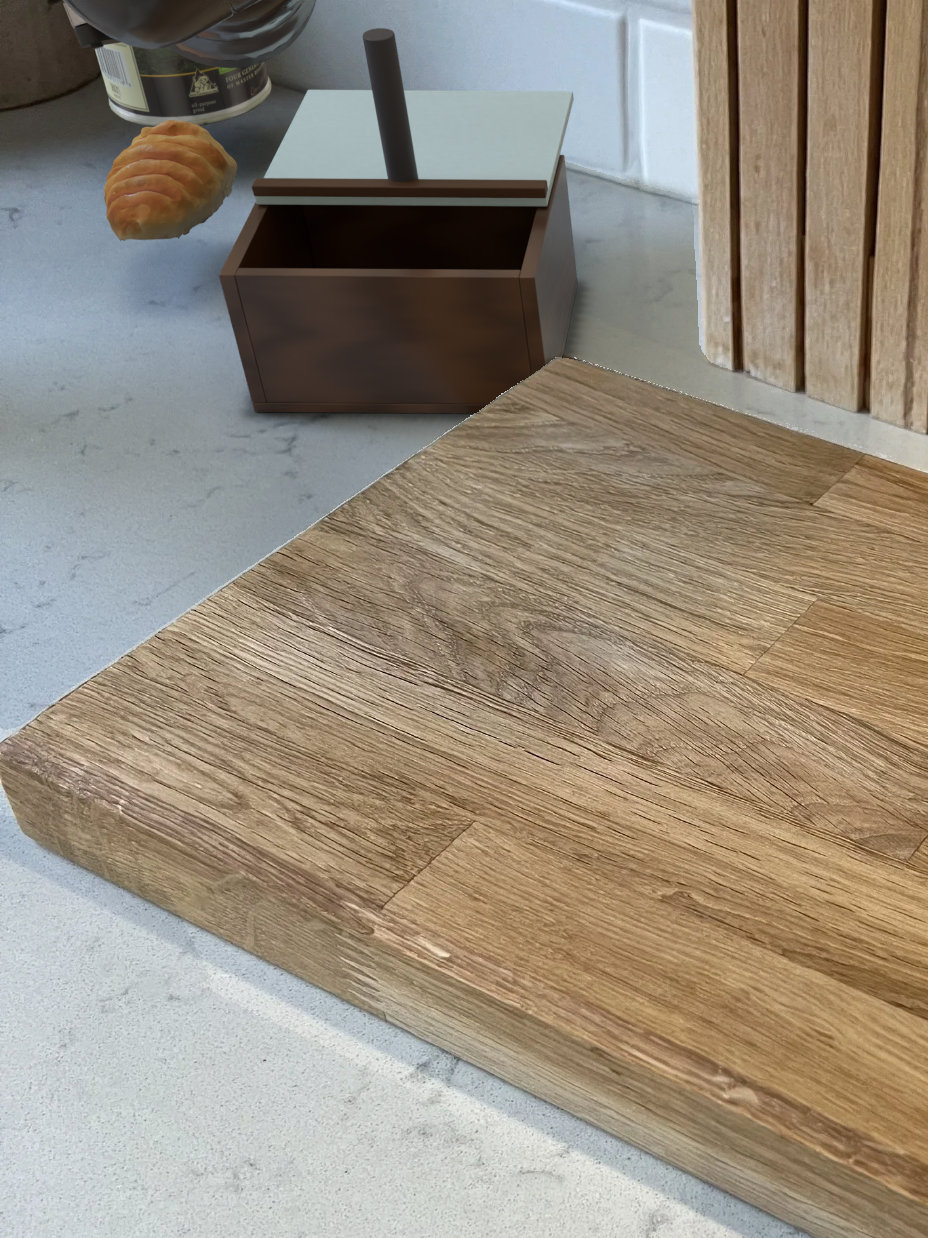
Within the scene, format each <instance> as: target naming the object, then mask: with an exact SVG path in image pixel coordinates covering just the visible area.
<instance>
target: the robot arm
mask: <svg viewBox="0 0 928 1238" xmlns="http://www.w3.org/2000/svg"><path fill="white" fill-rule="evenodd" d="M316 3H317V0H62V4H63V7H64V10H65V12H66V15H67V17H68V19H69V23H70V26H71V27H72V29H73V30H74V33H75V36H76V38H77V40H78V43H79V46H80V48H81V49H87V48H91V50H95V49H97V48H101V47H103V46H104V45H107V44H114V43H121V42H122V43H125V44H127V45H129V46H134V47H139V48H144V49H162V48H167V47H168V48H169V49H171V50H172V51H174V52H176V53H177V54H179V55H181V56H183V57H185V58H187V59H190V60H192V61H195V62H197V63H201V64H204V65H208V66H213V67H221V68H241V67H248V66H252V65H256V64H259V63H262V62H265V63H266V62H267V61H269V60H271V59H273V58H275V57H277V56H278V55H280V54H281V53H283V52H284V51H286V50H287V49H288V48H289V47H291V45H292V44H293V43H295V41H296V40H297V39H298V38H299V36H300V35H301V34H302V33H303V32H304V30H305V29H306V27H307V25H308V23H309V22H310V19H311V17H312V15H313V13H314V9H315V7H316Z"/></svg>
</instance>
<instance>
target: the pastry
mask: <svg viewBox="0 0 928 1238" xmlns="http://www.w3.org/2000/svg"><path fill="white" fill-rule="evenodd" d="M237 172H238V163H237V162H236V160H235V159H234V157H232V156H231V155H229V153H228V152H227V151H226V150H225V148H224V147H223V145H222V144H221V143H219V142H218V141H217V140H216V139H214V137H212V134H211V133H210V132H209V131H208V130H207V128H204V127H203V126H202V125H200V126H199V125H196V124H192V123H189V122H187V121H175V120H168V121H165V122H162V123H160V124H159V125H157V126H155V127H152V126H145V127H142V128H141V130H140V133H139V134H138V135H137V136H135V137H133V139H132V141H131V144H130V146H128V147H127V148H125V149H123V150H122V151H121V152H120V153H119V155H118V156H116V158H115V159H114V160H113V162H112V166H111V169H110V171H109V172H108V173H107V176H106V180H105V181H106V182H105V185H104V187H103V193H104V196H103V197H104V202H105V207H106V214H105V215H106V220H107V221H108V223H109V227H110V229H111V231H112V232H113V233H114V235H115V236H116V238H117V239H118V240H119V241H120V242H121V241H122V242H125V241H127V240H136V241H152V240H171V239H175V238H176V239H178V240H180V238H181V236H187V235H188V234H190V232H191V230H192V229H193V228H195V227H196V226H198V225H200V224H204V223H205V222H207V220H209V219H210V218H211V217H212V216H213V215H214V214H215V213H216V212H217V211H218V210H220V207H221V206H223V204H224V201H225V199H226V198H229V197H230V195H231V194H232V192H233V185H234V182H235V180H236V176H237Z"/></svg>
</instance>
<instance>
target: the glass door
mask: <svg viewBox="0 0 928 1238" xmlns="http://www.w3.org/2000/svg"><path fill="white" fill-rule="evenodd" d="M362 41H363V48H364V53H365V58H366V64H367V69H368V76H369V81H370V87H371V89H307V91H306V93H305V95H304V97H303V98H302V101H301V103H300V105H299V107H298V109H297V111H296V113H295V115H294V117H293V119H292V121H291V123H290V125H289V127H288V129H287V131H286V133H285V135H284V137H283V139H282V140H281V143H280V145H279V147H278V149H277V150H276V153H275V155H274V156H273V158H272V161H271V162H270V164H269V167H268V168H267V171H266V172H265V174H264V176H263V177H255V179H254V180H253V183H252V184H251V190H252V193H253V197H254V200H255V202H256V204H266V205H413V206H547V205H548V201H549V197H550V193H551V189H552V185H553V181H554V177H555V173H556V168H557V164H558V160H559V156H560V155H561V151H562V147H563V144H564V139H565V136H566V132H567V127H568V124H569V119H570V116H571V112H572V108H573V104H574V99H575V98H574V92H573V91H561V90H560V91H559V90H558V91H556V90H555V91H554V90H551V91H548V90H547V91H546V90H545V91H544V90H542V91H541V90H538V91H537V90H521V91H520V90H421V89H420V90H417V89H416V90H408V89H407V90H405V88H404V83H403V82H404V81H403V77H402V70H401V64H400V58H399V53H398V46H397V40H396V35H395V32H394V30H392V29H390V28H386V27H385V28H383V27H378V28H376V27H375V28H370V29H368V30H366V31H364V32H363V33H362Z"/></svg>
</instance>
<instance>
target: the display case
mask: <svg viewBox="0 0 928 1238" xmlns="http://www.w3.org/2000/svg"><path fill="white" fill-rule="evenodd" d="M569 195H570V194H569V186H568V175H567V167H566V157H565V155H564V154H560V156H559V160H558V164H557V168H556V173H555V177H554V181H553V185H552V189H551V193H550V197H549V201H548V205H547V206H413V205H266V204H256V201H255V202H254V204H253V206H252V209H251V210H250V212H249V214H248V216H247V218H246V220H245V222H244V224H243V226H242V227H241V228H242V229H241V230H240V232H239V234H238V236H237V238H236V240H235V242H234V244H233V247H232V248H231V250H230V251H229V252H230V253H229V254H228V256H227V258H226V260H225V262H224V264H223V266H222V268H221V270H220V272H219V274H218V277H219V280H220V284H221V285H220V286H221V289H222V293H223V296H224V300H225V305H226V308H227V311H228V315H229V320H230V323H231V327H232V331H233V334H234V335H233V336H234V339H235V343H236V346H237V351H238V354H239V358H240V362H241V365H242V369H243V373H244V378H245V381H246V385H247V389H248V392H249V397H250V400H251V403H252V407H253V411H254V413H350V414H351V413H353V414H354V413H357V414H358V413H362V414H364V413H366V414H367V413H368V414H372V413H373V414H478V413H477V412H479V410H481V409H482V408H484V407H485V406H486V405H488V404H490V402H492V401H493V400H495V399H496V397H498V396H499V395H501V393H504V392H505V391H507V390H509V389H510V388H511V387H513V386H515V385H517V383H520V381H522V380H525V379H526V378H528V377H529V376H531V375H532V374H534V373H535V372H536V371H538V370H540V369H541V368H542V367H543V366H545V365H546V364H548V363H549V362H550V361H551V360H553V359H555V357H561V356H563V357H564V354H565V348H566V343H567V339H568V338H567V337H568V333H569V329H570V323H571V319H572V314H573V309H574V304H575V299H576V295H577V290H578V275H577V266H576V265H577V264H576V256H575V255H576V254H575V244H574V237H573V235H574V234H573V225H572V217H571V207H570V206H571V205H570V198H569V197H570V196H569Z"/></svg>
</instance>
